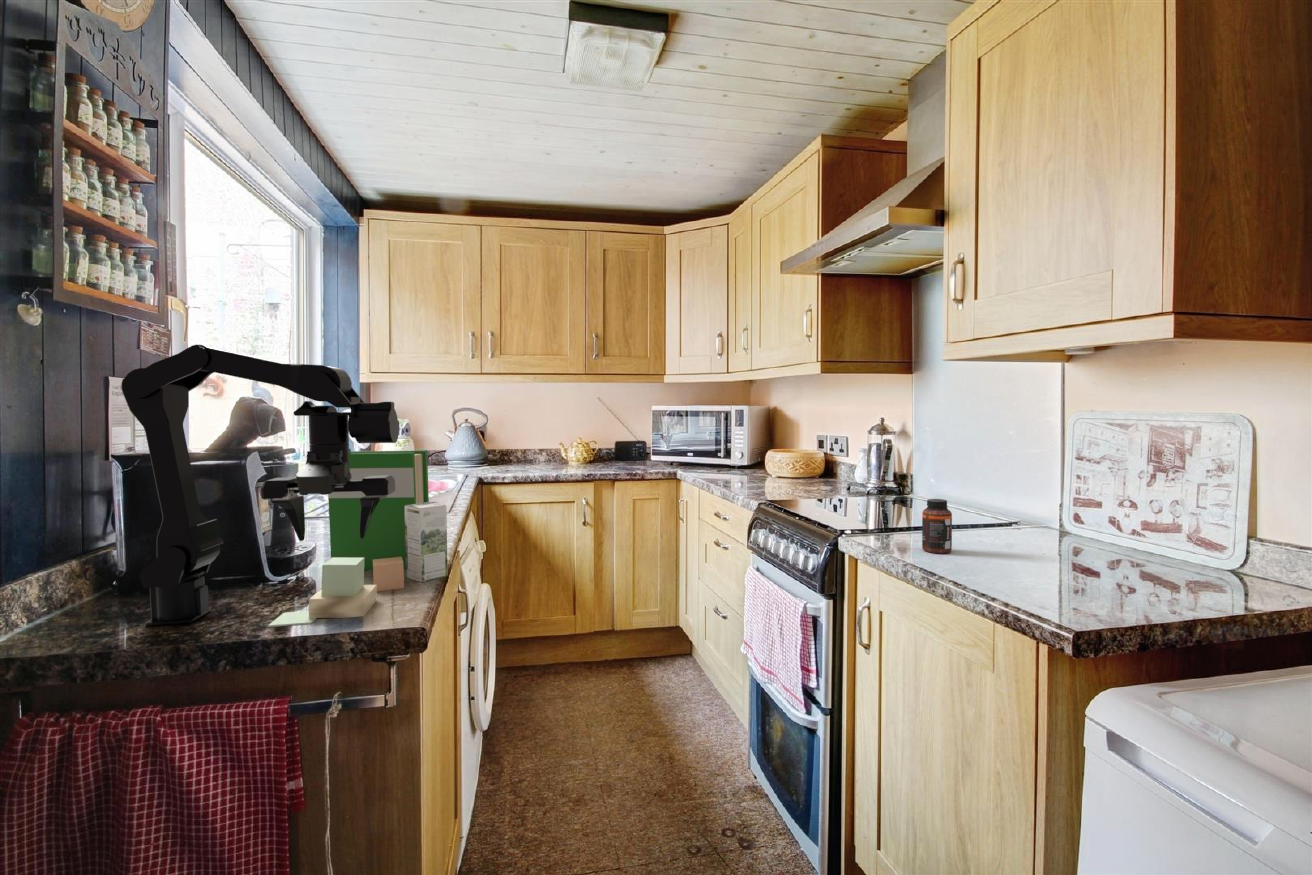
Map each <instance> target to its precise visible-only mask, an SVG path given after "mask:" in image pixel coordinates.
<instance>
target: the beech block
mask: <svg viewBox="0 0 1312 875" xmlns="http://www.w3.org/2000/svg"><path fill="white" fill-rule="evenodd" d="M321 592H322V588H321V589H319V590H318V591H317V592H316V593H315V594H313V595H312V596H311V597H310V598H309V599H308V611H309V618H317V619H333V618H334V619H335V618H336V619H339V618H342V619H343V618H353V617H354V618H357V617H365V615H366V614H367V613H368V611H369V610H370V609H371V608H372V606H374V604H375V603H376V602H377V595H378V594H377V592H378V591H377V585H374V584H364V587H363V588H362V589H361V590H360V591H359V592H358V593H357V595H356V596H321Z"/></svg>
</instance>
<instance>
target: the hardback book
mask: <svg viewBox="0 0 1312 875" xmlns="http://www.w3.org/2000/svg"><path fill="white" fill-rule="evenodd" d="M349 459H350V473H352V479H350V481H352V480H362V479H363V478H365V477H367V476H372V475H391V476H392V477H393V478H394V480H395V491H394V492H392V493H391V494H389V495H387V497H385V498H383V499H381V500H379V502H378V504H377V506H376V508H375V510H374V513H373V515H372V518H371V521H370V523H369V526H368V529H367V532H366V534H365V537H364V538H362V539H361V538H360V517H361V504H360V498H362V497H364V496H365V494H364V493H363V492H362V491H353V492H332V493H331V494H327V496H328V497H327V498H328V519H329V542H330V543H329V546H330V548H329V549H330V559H331V558H332V557H346V558H365V559H364V570H373V560H374V559H384V558H393V557H402V560H403V569H404V570H406V548H405V505H412V504H419V503H426V502H430V501H429V500H430V498H429V496H430V495H429V494H430V493H429V469H428V468H429V466H428V450H359V451H357V450H355V451H354V450H353V451H352V450H351V455H349ZM341 487H342V486H341ZM343 487H344V486H343Z"/></svg>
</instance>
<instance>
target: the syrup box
mask: <svg viewBox="0 0 1312 875" xmlns="http://www.w3.org/2000/svg"><path fill="white" fill-rule="evenodd" d="M447 513H448V512H447V505H446V504H445V503H442V502H438V501H429V502H426V503H419V504H412V505H405V548H406V571H405V578H407V579H409V580H412V581H416V582H419V583H425V582H428V581H429V582H430V581H434V580H438V579H442V578H447V577H448V574H449V573H448V571H449V570H448V569H449V568H448V566H449V565H448V524H447V522H448V520H447V518H448V517H447V516H448V515H447Z"/></svg>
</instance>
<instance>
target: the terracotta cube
mask: <svg viewBox="0 0 1312 875" xmlns="http://www.w3.org/2000/svg"><path fill="white" fill-rule="evenodd" d="M404 572H405V571H404V569H403V560H402V557H393V558H384V559H374V560H373V571H372V577H373V578H372V580H373V581H372V582H373V585H377V592H382V591H390V590H391V591H393V590H399V589H404V588H405V576H404V575H405V574H404Z"/></svg>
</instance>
